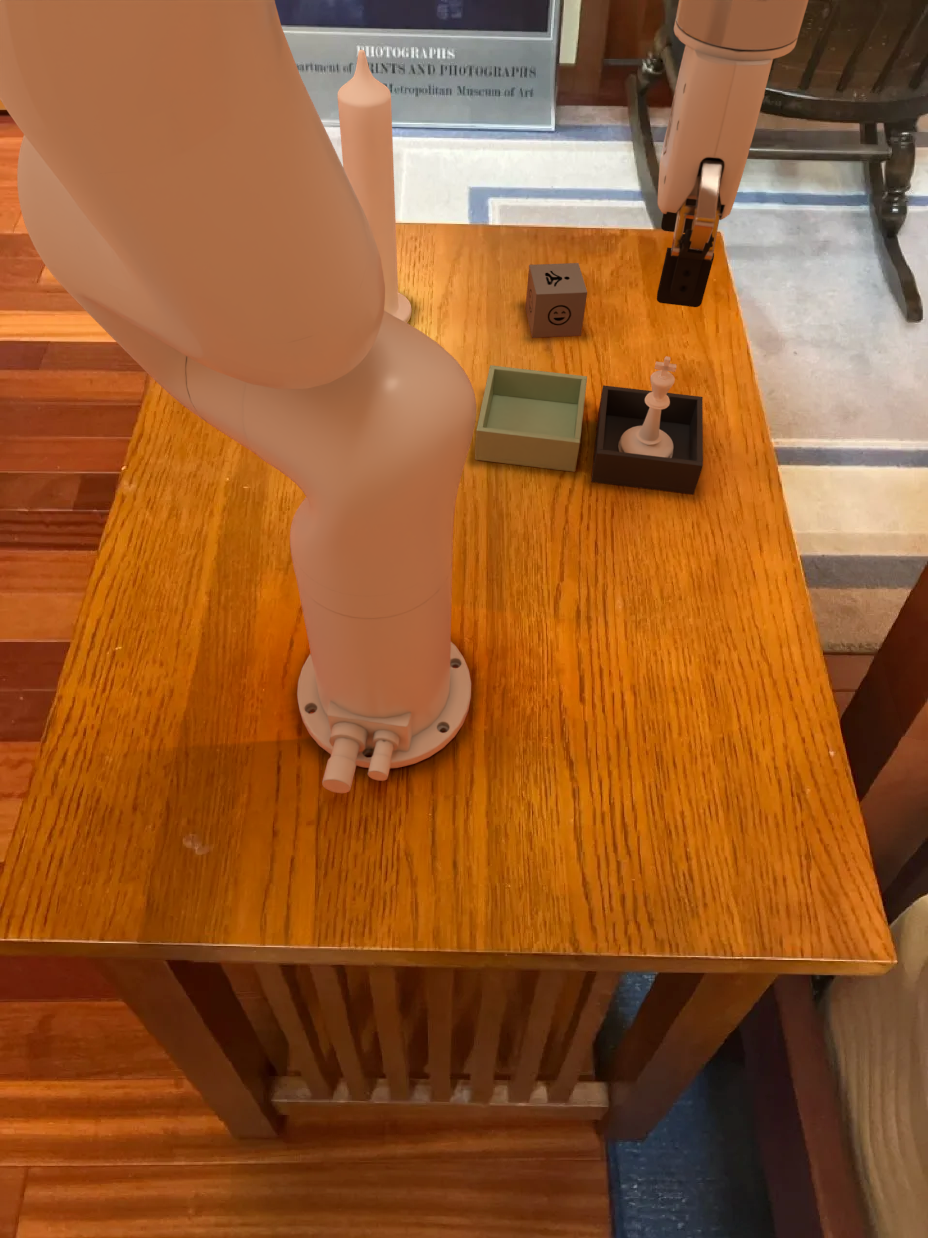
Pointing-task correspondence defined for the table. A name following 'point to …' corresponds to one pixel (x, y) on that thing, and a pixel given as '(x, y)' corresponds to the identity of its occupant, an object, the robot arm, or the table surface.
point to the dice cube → (555, 300)
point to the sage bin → (531, 418)
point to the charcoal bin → (648, 471)
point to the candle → (373, 169)
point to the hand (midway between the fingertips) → (679, 265)
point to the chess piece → (652, 418)
